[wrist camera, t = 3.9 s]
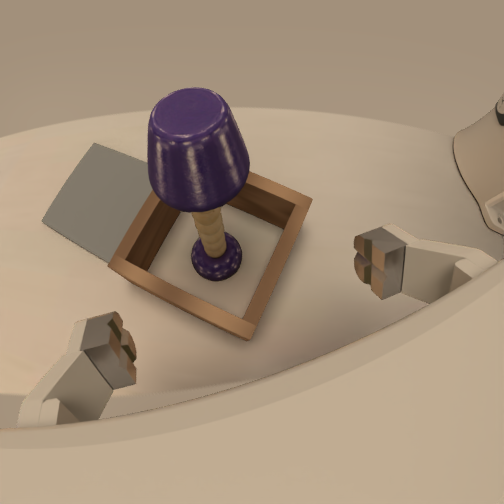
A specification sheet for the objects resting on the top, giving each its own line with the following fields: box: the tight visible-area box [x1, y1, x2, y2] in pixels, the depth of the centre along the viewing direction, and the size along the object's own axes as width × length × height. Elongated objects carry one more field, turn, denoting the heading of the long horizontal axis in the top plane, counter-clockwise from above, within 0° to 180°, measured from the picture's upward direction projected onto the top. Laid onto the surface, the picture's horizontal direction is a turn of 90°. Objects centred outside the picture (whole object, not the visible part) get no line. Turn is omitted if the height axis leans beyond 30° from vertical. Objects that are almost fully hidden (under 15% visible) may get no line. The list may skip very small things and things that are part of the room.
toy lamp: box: [148, 87, 250, 281], centre depth 18 cm, size 5×5×17 cm
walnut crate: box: [108, 171, 313, 341], centre depth 23 cm, size 11×11×5 cm
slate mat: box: [42, 143, 153, 263], centre depth 26 cm, size 10×10×1 cm
